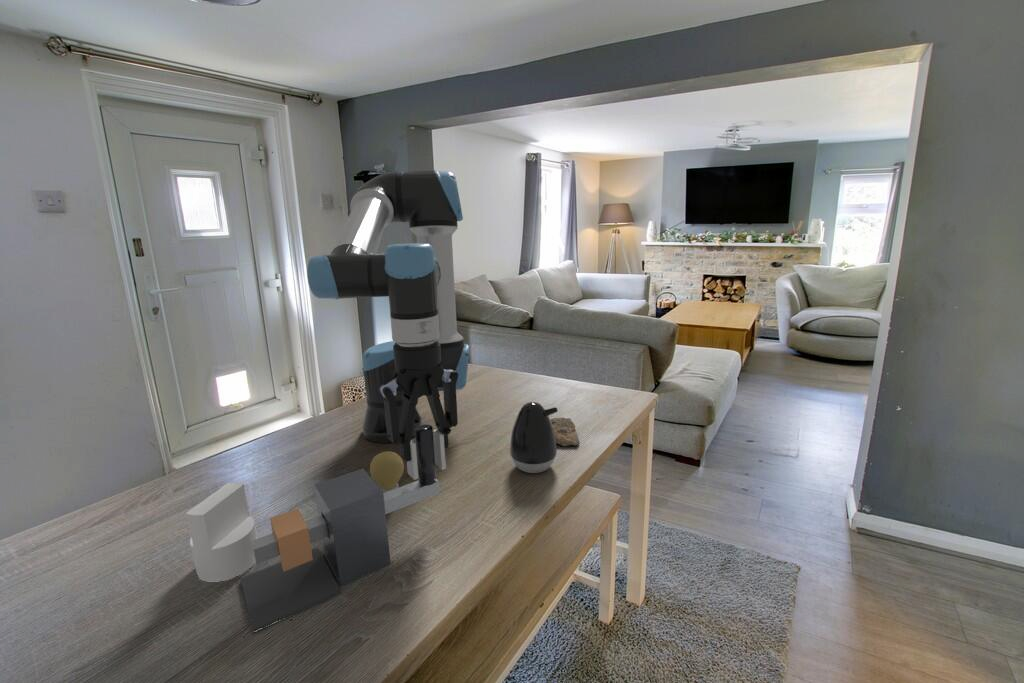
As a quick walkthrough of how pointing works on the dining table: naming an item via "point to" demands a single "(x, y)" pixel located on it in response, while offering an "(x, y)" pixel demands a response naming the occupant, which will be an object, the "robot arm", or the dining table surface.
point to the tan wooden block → (292, 539)
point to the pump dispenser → (533, 439)
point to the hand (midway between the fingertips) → (426, 470)
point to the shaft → (392, 499)
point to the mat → (287, 590)
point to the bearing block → (353, 525)
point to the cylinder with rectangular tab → (222, 534)
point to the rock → (564, 431)
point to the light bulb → (387, 470)
